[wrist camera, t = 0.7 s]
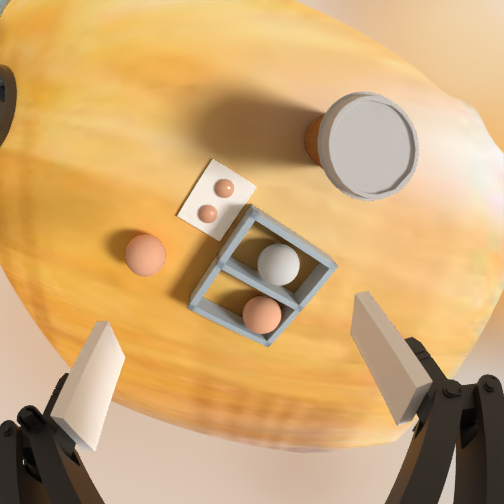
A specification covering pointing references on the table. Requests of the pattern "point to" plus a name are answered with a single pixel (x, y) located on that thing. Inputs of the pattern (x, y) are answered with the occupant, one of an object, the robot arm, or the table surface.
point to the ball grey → (278, 264)
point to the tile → (216, 200)
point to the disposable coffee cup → (364, 146)
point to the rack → (260, 279)
